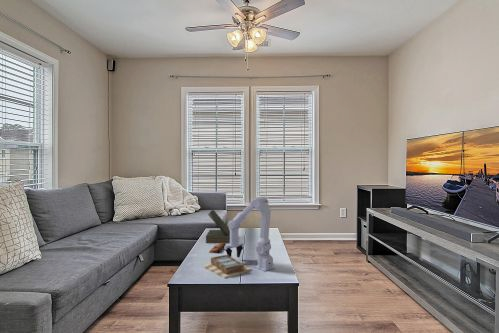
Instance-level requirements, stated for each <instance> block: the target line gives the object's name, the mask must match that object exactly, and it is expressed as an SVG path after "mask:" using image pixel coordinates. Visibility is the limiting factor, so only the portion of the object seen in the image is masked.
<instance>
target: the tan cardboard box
mask: <svg viewBox="0 0 499 333" xmlns="http://www.w3.org/2000/svg"><path fill="white" fill-rule="evenodd" d="M210 263H211V264H213V265H214V266H215V267H217V268H218V269H220V270H221V271H222V272H224V273H225V274H230V273H234V272H239V271H244V266H245V264H243V262H240V261H239V260H237V259H236V258H234V257H233V256H231V257H230V256H229V255H227V254H224V255H218V256H214V257H210Z"/></svg>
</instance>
